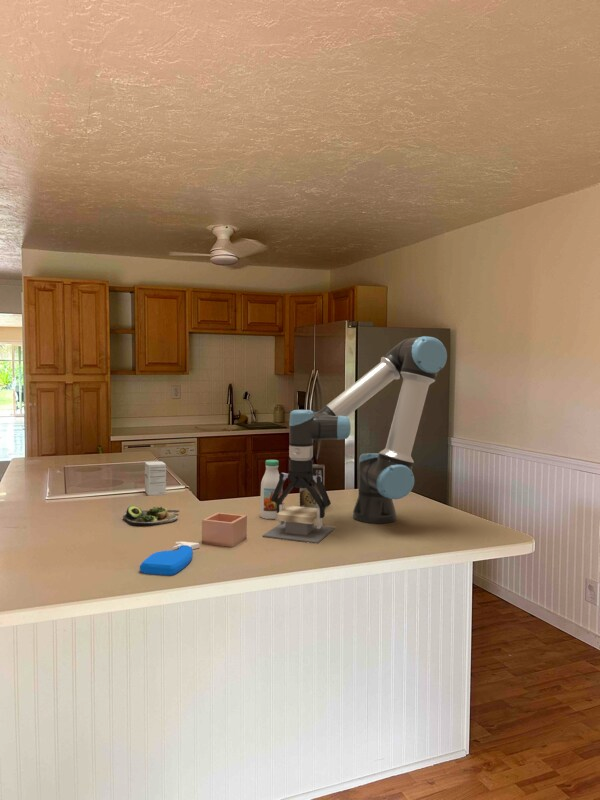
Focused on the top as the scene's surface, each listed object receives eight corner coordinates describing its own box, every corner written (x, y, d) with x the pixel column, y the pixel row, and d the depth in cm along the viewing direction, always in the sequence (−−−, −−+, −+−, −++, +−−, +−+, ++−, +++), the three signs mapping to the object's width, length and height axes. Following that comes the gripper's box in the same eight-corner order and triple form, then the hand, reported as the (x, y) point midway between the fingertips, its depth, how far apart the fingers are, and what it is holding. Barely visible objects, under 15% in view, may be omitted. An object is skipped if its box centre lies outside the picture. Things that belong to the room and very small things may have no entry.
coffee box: (324, 506, 228) (325, 464, 227) (323, 510, 222) (324, 467, 221) (300, 505, 229) (301, 463, 228) (298, 509, 223) (299, 466, 222)
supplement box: (144, 492, 248) (144, 461, 247) (162, 490, 251) (162, 460, 250) (147, 495, 241) (147, 464, 240) (166, 494, 244) (166, 463, 244)
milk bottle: (256, 517, 210) (256, 460, 209) (267, 513, 217) (268, 458, 216) (275, 520, 206) (276, 462, 205) (286, 515, 213) (287, 459, 212)
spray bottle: (176, 566, 151) (207, 540, 175) (135, 563, 153) (172, 537, 177) (176, 577, 151) (207, 550, 175) (135, 574, 153) (172, 547, 177)
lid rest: (334, 528, 197) (334, 515, 197) (317, 543, 180) (317, 529, 180) (283, 522, 203) (283, 509, 203) (262, 537, 187) (262, 522, 186)
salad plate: (170, 510, 219) (170, 498, 219) (190, 521, 204) (190, 508, 204) (117, 517, 209) (117, 504, 208) (134, 529, 194) (134, 515, 193)
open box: (246, 538, 185) (246, 515, 185) (232, 547, 176) (232, 523, 175) (217, 534, 188) (217, 512, 188) (201, 543, 179) (202, 519, 179)
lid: (324, 515, 195) (324, 509, 195) (312, 524, 184) (312, 517, 184) (289, 511, 199) (289, 505, 199) (275, 520, 188) (275, 514, 188)
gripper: (261, 458, 191) (260, 524, 192) (334, 462, 183) (333, 532, 184) (270, 454, 198) (269, 519, 200) (341, 459, 190) (340, 526, 191)
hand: (300, 525), depth 192 cm, fingers closed on lid, 12 cm apart
